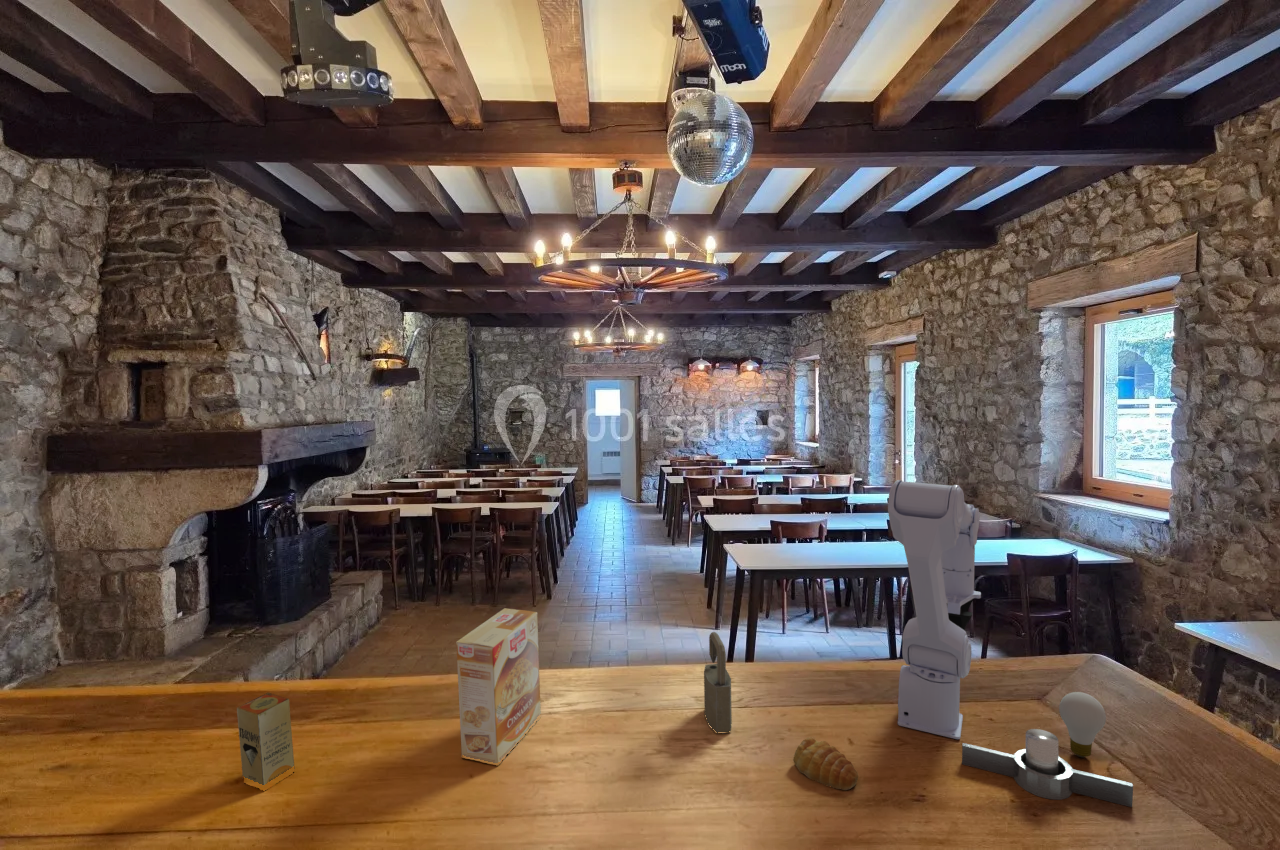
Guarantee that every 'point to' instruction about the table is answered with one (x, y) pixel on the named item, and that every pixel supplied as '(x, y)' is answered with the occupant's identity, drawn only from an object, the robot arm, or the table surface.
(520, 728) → the coffeecake box
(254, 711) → the shoe polish box
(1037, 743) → the hinge pin
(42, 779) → the table surface
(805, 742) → the pastry
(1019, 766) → the hinge
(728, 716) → the padlock
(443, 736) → the table surface
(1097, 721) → the light bulb
